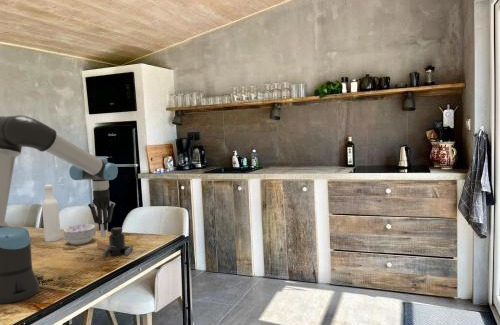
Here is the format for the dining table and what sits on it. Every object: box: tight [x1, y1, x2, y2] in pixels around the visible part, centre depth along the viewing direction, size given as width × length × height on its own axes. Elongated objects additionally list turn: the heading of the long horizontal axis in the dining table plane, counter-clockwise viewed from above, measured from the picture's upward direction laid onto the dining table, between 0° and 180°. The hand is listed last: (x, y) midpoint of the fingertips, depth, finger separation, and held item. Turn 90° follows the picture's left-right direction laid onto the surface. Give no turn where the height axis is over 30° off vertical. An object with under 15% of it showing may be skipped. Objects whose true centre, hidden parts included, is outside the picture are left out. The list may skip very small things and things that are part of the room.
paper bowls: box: [63, 223, 97, 246], centre depth 202 cm, size 15×15×8 cm
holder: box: [96, 240, 134, 258], centre depth 184 cm, size 19×18×3 cm
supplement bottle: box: [108, 226, 126, 257], centre depth 179 cm, size 7×7×12 cm
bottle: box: [41, 184, 62, 243], centre depth 208 cm, size 8×8×30 cm
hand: (103, 236), depth 191 cm, fingers closed
